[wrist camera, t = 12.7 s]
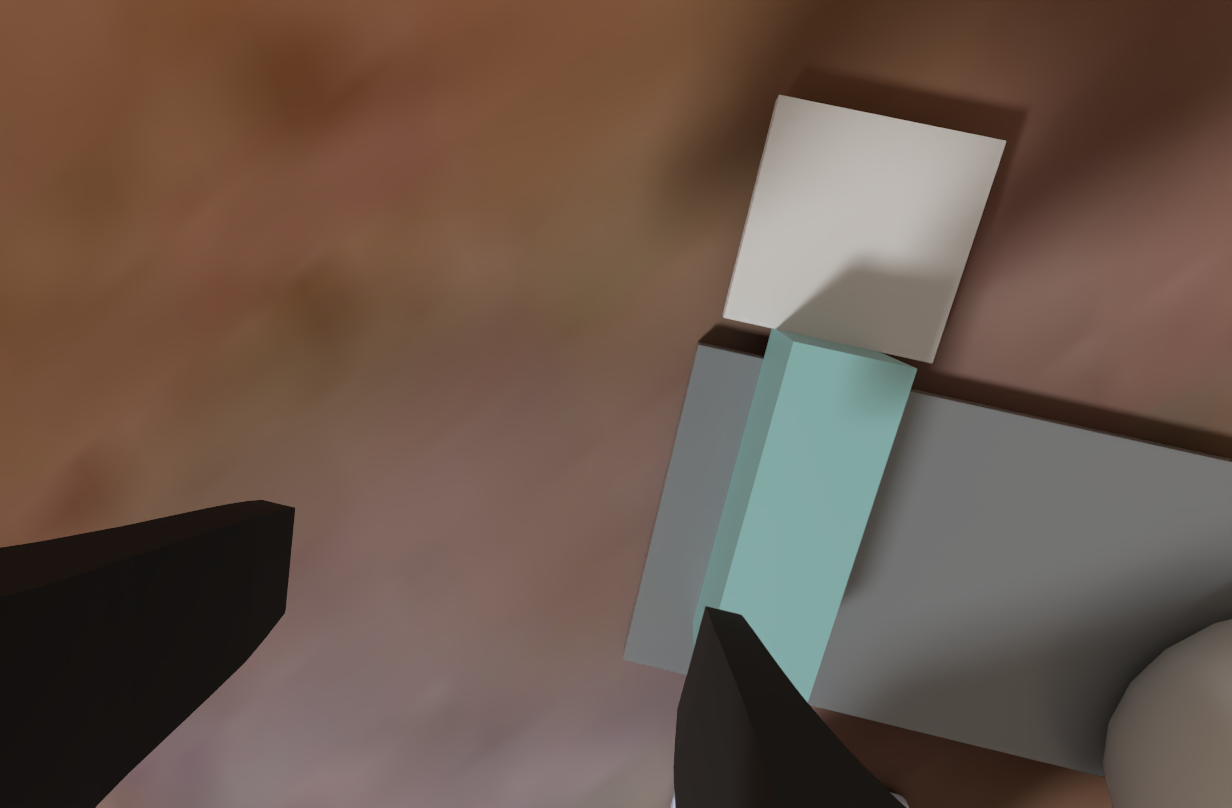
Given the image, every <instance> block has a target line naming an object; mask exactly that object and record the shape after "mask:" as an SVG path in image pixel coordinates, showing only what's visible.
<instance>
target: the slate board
mask: <svg viewBox="0 0 1232 808" xmlns="http://www.w3.org/2000/svg"><path fill="white" fill-rule="evenodd" d="M763 359H764V356H761V355H757V354H752V353H748V352H743V351H739V350H734V349H729V348H725V347H720V346H716V345H711V344H707V343H702V342H697V347H696V351H695V355H694V359H693V363H692V367H691V371H690V376H689V380H688V384H687V388H686V392H685V396H684V401H683V405H682V409H681V413H680V417H679V421H678V426H677V430H676V434H675V438H674V442H673V446H672V450H671V455H670V459H669V463H668V467H667V471H666V475H665V480H664V484H663V488H662V492H661V496H660V500H659V505H658V509H657V513H656V517H655V521H654V525H653V529H652V534H651V538H650V542H649V546H648V550H647V554H646V559H645V563H644V567H643V571H642V575H641V579H640V584H639V588H638V592H637V596H636V600H635V604H634V608H633V613H632V617H631V621H630V625H629V629H628V633H627V638H626V642H625V646H624V653H623V660H627V661H631V662H635V663H639V664H643V665H647V666H651V667H655V668H659V669H663V670H668V671H672V672H676V673H680V674H684V675H687V672H688V669H689V665H690V661H691V658H692V654H693V650H694V639H693V620H694V616H695V612H696V609H697V605H698V601H699V597H700V594H701V590H702V586H703V583H704V579H705V575H706V571H707V568H708V564H709V560H710V557H711V553H712V549H713V545H714V542H715V538H716V534H717V530H718V527H719V523H720V519H721V516H722V512H723V508H724V504H725V501H726V497H727V493H728V490H729V486H730V482H731V478H732V475H733V471H734V467H735V463H736V460H737V456H738V452H739V449H740V445H741V441H742V437H743V434H744V430H745V426H746V423H747V419H748V415H749V411H750V408H751V404H752V400H753V396H754V393H755V389H756V385H757V382H758V378H759V374H760V370H761V367H762V363H763ZM1230 619H1232V459H1229V458H1225V457H1220V456H1215V455H1211V454H1206V453H1202V452H1197V451H1193V450H1188V449H1184V448H1179V447H1175V446H1170V445H1166V444H1161V443H1156V442H1152V441H1147V440H1143V439H1138V438H1134V437H1129V436H1125V435H1120V434H1116V433H1111V432H1106V431H1102V430H1097V429H1093V428H1088V427H1084V426H1079V425H1075V424H1070V423H1066V422H1061V421H1056V420H1052V419H1047V418H1043V417H1038V416H1034V415H1029V414H1025V413H1020V412H1016V411H1011V410H1007V409H1002V408H997V407H993V406H988V405H984V404H979V403H975V402H970V401H966V400H961V399H957V398H952V397H947V396H943V395H938V394H934V393H929V392H925V391H920V390H916V389H911V390H910V393H909V396H908V399H907V402H906V405H905V408H904V411H903V414H902V417H901V420H900V423H899V426H898V429H897V433H896V436H895V439H894V442H893V445H892V448H891V451H890V454H889V457H888V460H887V463H886V466H885V469H884V472H883V475H882V478H881V481H880V484H879V487H878V490H877V493H876V496H875V500H874V503H873V506H872V509H871V512H870V515H869V518H868V521H867V524H866V527H865V530H864V533H863V536H862V539H861V542H860V545H859V548H858V551H857V554H856V557H855V560H854V563H853V567H852V570H851V573H850V576H849V579H848V582H847V585H846V588H845V591H844V594H843V597H842V600H841V603H840V606H839V609H838V612H837V615H836V618H835V621H834V624H833V627H832V630H831V634H830V637H829V640H828V643H827V646H826V649H825V652H824V655H823V658H822V661H821V664H820V667H819V670H818V673H817V676H816V679H815V682H814V685H813V688H812V691H811V694H810V697H809V700H808V704H809V705H811V706H815V707H819V708H823V709H827V710H831V711H835V712H839V713H844V714H848V715H852V716H856V717H860V718H864V719H868V720H872V721H876V722H880V723H884V724H889V725H893V726H897V727H901V728H905V729H909V730H913V731H917V732H921V733H925V734H930V735H934V736H938V737H942V738H946V739H950V740H954V741H958V742H962V743H966V744H970V745H975V746H979V747H983V748H987V749H991V750H995V751H999V752H1003V753H1007V754H1011V755H1015V756H1020V757H1024V758H1028V759H1032V760H1036V761H1040V762H1044V763H1048V764H1052V765H1056V766H1060V767H1065V768H1069V769H1073V770H1077V771H1081V772H1085V773H1089V774H1093V775H1097V776H1101V777H1105V776H1104V768H1103V758H1104V751H1105V744H1106V737H1107V730H1108V723H1109V721H1110V719H1111V717H1112V715H1113V714H1114V712H1115V710H1116V708H1117V706H1118V704H1119V703H1120V701H1121V699H1122V697H1123V695H1124V693H1125V692H1126V690H1127V688H1128V686H1129V684H1130V683H1131V682H1132V681H1133V680H1134V679H1135V678H1136V677H1137V676H1138V675H1139V674H1140V673H1141V672H1142V671H1143V670H1144V669H1145V668H1146V667H1147V666H1148V665H1149V664H1150V663H1152V662H1153V661H1154V660H1155V659H1156V658H1157V657H1158V656H1159V655H1160V654H1161V653H1162V652H1163V651H1164V650H1165V649H1167V648H1169V647H1171V646H1173V645H1175V644H1176V643H1178V642H1180V641H1182V640H1184V639H1186V638H1188V637H1190V636H1191V635H1193V634H1195V633H1197V632H1199V631H1201V630H1203V629H1205V628H1206V627H1208V626H1210V625H1212V624H1214V623H1218V622H1222V621H1226V620H1230Z"/></svg>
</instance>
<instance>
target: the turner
mask: <svg viewBox="0 0 1232 808" xmlns="http://www.w3.org/2000/svg"><path fill="white" fill-rule="evenodd" d="M1005 144H1006V141H1005V140H1000V139H995V138H990V137H985V136H980V135H975V134H971V133H966V132H961V131H956V130H951V129H946V128H941V127H936V126H931V125H926V124H921V123H916V122H911V121H906V120H901V119H897V118H892V117H887V116H882V115H877V114H872V113H867V112H862V111H857V110H852V109H847V108H842V107H837V106H832V105H828V104H823V103H818V102H813V101H808V100H803V99H798V98H793V97H788V96H783V95H779V96H778V98H777V99H776V102H775V106H774V110H773V114H772V118H771V122H770V126H769V130H768V134H767V138H766V142H765V146H764V150H763V154H762V158H761V162H760V166H759V170H758V174H757V178H756V182H755V186H754V190H753V194H752V198H751V202H750V206H749V210H748V214H747V218H746V222H745V226H744V230H743V234H742V238H741V242H740V246H739V250H738V254H737V258H736V262H735V266H734V270H733V274H732V279H731V283H730V287H729V291H728V295H727V299H726V303H725V307H724V311H723V315H722V316H723V318H727V319H732V320H736V321H741V322H745V323H750V324H754V325H759V326H764V327H768V328H772V329H771V333H770V337H769V341H768V344H767V348H766V352H765V356H764V359H763V363H762V367H761V370H760V374H759V378H758V382H757V385H756V389H755V393H754V396H753V400H752V404H751V408H750V411H749V415H748V419H747V423H746V426H745V430H744V434H743V437H742V441H741V445H740V449H739V452H738V456H737V460H736V463H735V467H734V471H733V475H732V478H731V482H730V486H729V490H728V493H727V497H726V501H725V504H724V508H723V512H722V516H721V519H720V523H719V527H718V530H717V534H716V538H715V542H714V545H713V549H712V553H711V557H710V560H709V564H708V568H707V571H706V575H705V579H704V583H703V586H702V590H701V594H700V597H699V601H698V605H697V609H696V612H695V616H694V620H693V639H694V647H695V643H696V639H697V635H698V632H699V628H700V624H701V621H702V617H703V613H704V610H705V606H708V607H712V608H716V609H720V610H724V611H728V612H733V613H737V614H741V615H742V616H743V617H744V618H745V620H746V621H747V622H748V624H749V625H750V626H751V628H752V629H753V630H754V632H755V633H756V635H757V636H758V637H759V639H760V640H761V642H762V643H763V644H764V646H765V647H766V649H767V650H768V651H769V653H770V654H771V655H772V657H773V658H774V660H775V661H776V662H777V664H778V665H779V666H780V668H781V669H782V670H783V672H784V673H785V674H786V676H787V677H788V678H789V680H790V681H791V682H792V684H793V685H794V686H795V688H796V689H797V690H798V691H799V693H800V694H801V695H802V696H803V698H804V699H805V700H806V701H807V703H808V700H809V697H810V694H811V691H812V688H813V685H814V682H815V679H816V676H817V673H818V670H819V667H820V664H821V661H822V658H823V655H824V652H825V649H826V646H827V643H828V640H829V637H830V634H831V630H832V627H833V624H834V621H835V618H836V615H837V612H838V609H839V606H840V603H841V600H842V597H843V594H844V591H845V588H846V585H847V582H848V579H849V576H850V573H851V570H852V567H853V563H854V560H855V557H856V554H857V551H858V548H859V545H860V542H861V539H862V536H863V533H864V530H865V527H866V524H867V521H868V518H869V515H870V512H871V509H872V506H873V503H874V500H875V496H876V493H877V490H878V487H879V484H880V481H881V478H882V475H883V472H884V469H885V466H886V463H887V460H888V457H889V454H890V451H891V448H892V445H893V442H894V439H895V436H896V433H897V429H898V426H899V423H900V420H901V417H902V414H903V411H904V408H905V405H906V402H907V399H908V396H909V393H910V390H911V387H912V384H913V381H914V378H915V375H916V372H917V368H915V367H912V366H910V365H908V364H906V363H903V362H901V361H899V360H897V359H894V358H892V357H890V356H888V355H885V354H883V353H887V354H891V355H896V356H900V357H905V358H909V359H914V360H918V361H923V362H928V363H933V360H934V357H935V354H936V351H937V348H938V345H939V342H940V339H941V336H942V333H943V330H944V327H945V324H946V321H947V318H948V315H949V312H950V309H951V306H952V303H953V300H954V297H955V294H956V291H957V288H958V285H959V282H960V279H961V276H962V273H963V270H964V267H965V264H966V261H967V258H968V255H969V252H970V249H971V246H972V243H973V240H974V237H975V234H976V231H977V228H978V225H979V222H980V219H981V216H982V213H983V210H984V207H985V204H986V201H987V198H988V195H989V192H990V189H991V186H992V183H993V180H994V177H995V174H996V171H997V168H998V165H999V162H1000V159H1001V156H1002V153H1003V150H1004V147H1005ZM881 352H882V353H881Z"/></svg>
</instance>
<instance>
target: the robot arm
mask: <svg viewBox="0 0 1232 808" xmlns="http://www.w3.org/2000/svg"><path fill="white" fill-rule="evenodd" d="M294 514H295V508H293V507H289V506H285V505H281V504H277V503H272V502H268V501H264V500H256V501H246V502H239V503H233V504H227V505H222V506H216V507H211V508H206V509H202V510H197V511H192V512H187V513H183V514H178V515H173V516H168V517H164V518H159V519H154V520H150V521H145V522H140V523H136V524H131V525H126V526H121V527H116V528H111V529H105V530H100V531H95V532H89V533H84V534H79V535H73V536H68V537H63V538H57V539H52V540H47V541H41V542H35V543H29V544H23V545H16V546H9V547H2V548H0V808H95V807H96V806H97V805H98V804H99V803H100V802H101V801H102V800H103V799H104V798H105V797H106V796H107V795H108V794H109V793H110V792H111V791H112V790H113V788H114V787H115V786H116V785H117V784H118V783H119V782H120V781H121V780H122V779H123V778H124V777H125V776H126V775H127V774H128V773H129V772H130V771H131V770H132V769H134V768H135V767H136V766H137V765H138V764H139V763H140V762H141V761H142V760H143V759H144V758H145V757H146V756H147V755H148V754H149V753H150V752H152V751H153V750H154V749H155V748H156V747H157V746H158V745H159V744H160V743H161V742H162V741H163V740H164V739H165V738H166V737H167V736H168V735H169V734H171V733H172V732H173V731H174V730H175V729H176V728H177V727H178V726H179V725H180V724H181V723H182V722H183V721H184V720H185V719H186V718H187V717H189V716H190V715H191V714H192V713H193V712H194V711H195V710H196V709H197V708H198V707H199V706H200V705H201V704H202V703H203V702H204V701H205V700H207V699H208V698H209V697H210V696H211V695H212V694H213V693H214V692H215V691H216V690H217V689H218V688H219V687H220V686H221V685H222V684H223V683H224V682H225V681H226V680H227V679H228V678H229V677H230V676H231V675H232V674H233V673H235V672H236V671H237V670H238V669H239V668H240V667H241V666H242V665H243V664H244V663H245V662H246V661H247V659H248V658H249V657H250V656H251V655H252V653H253V652H254V651H255V650H256V649H257V647H258V646H259V645H260V644H261V643H262V641H263V640H264V639H265V638H266V637H267V635H268V634H269V633H270V631H271V630H272V629H273V628H274V626H275V625H276V624H277V622H278V621H279V620H280V619H281V617H282V616H283V615H284V613H285V610H286V599H287V588H288V578H289V567H290V557H291V546H292V536H293V525H294ZM674 789H675V792H674V796H673V799H672V803H671V806H670V808H909V806H908V804H907V801H906V800H905V799H904V798H903V797H902V796H900V795H898V794H895V793H891V792H889V791H888V790H887V789H886V788H885V787H884V786H883V785H882V784H881V783H880V782H879V781H878V780H877V779H876V778H875V777H874V776H873V775H872V774H871V773H870V772H869V771H868V770H867V769H866V768H865V767H864V766H863V765H862V764H861V763H860V762H859V761H858V760H857V759H856V758H855V756H854V755H853V754H852V753H851V752H850V751H849V750H848V749H847V748H846V747H845V746H844V745H843V744H842V742H841V741H840V740H839V739H838V738H837V737H836V736H835V734H834V733H833V732H832V731H831V730H830V729H829V727H828V726H827V725H826V724H825V723H824V722H823V721H822V719H821V718H820V717H819V716H818V715H817V714H816V712H815V711H814V710H813V709H812V708H811V706H810V705H809V704H808V703H807V701H806V700H805V699H804V698H803V696H802V695H801V694H800V693H799V691H798V690H797V689H796V688H795V686H794V685H793V684H792V682H791V681H790V680H789V678H788V677H787V676H786V674H785V673H784V672H783V670H782V669H781V668H780V666H779V665H778V664H777V662H776V661H775V660H774V658H773V657H772V655H771V654H770V653H769V651H768V650H767V649H766V647H765V646H764V644H763V643H762V642H761V640H760V639H759V637H758V636H757V635H756V633H755V632H754V630H753V629H752V628H751V626H750V625H749V624H748V622H747V621H746V620H745V618H744V617H743V616H742V615H741V614H737V613H733V612H728V611H724V610H720V609H716V608H712V607H708V606H705V610H704V613H703V617H702V621H701V624H700V628H699V632H698V635H697V639H696V643H695V647H694V650H693V654H692V658H691V661H690V665H689V669H688V672H687V676H686V680H685V683H684V687H683V691H682V695H681V698H680V702H679V706H678V710H677V723H676V737H675V753H674Z"/></svg>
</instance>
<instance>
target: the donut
mask: <svg viewBox="0 0 1232 808" xmlns="http://www.w3.org/2000/svg"><path fill="white" fill-rule="evenodd" d="M1103 768H1104V776H1105V780H1106V783H1107V787H1108V791H1109V795H1110V798H1111V802H1112V806H1113V808H1232V619H1230V620H1226V621H1222V622H1218V623H1214V624H1212V625H1210V626H1208V627H1206V628H1205V629H1203V630H1201V631H1199V632H1197V633H1195V634H1193V635H1191V636H1190V637H1188V638H1186V639H1184V640H1182V641H1180V642H1178V643H1176V644H1175V645H1173V646H1171V647H1169V648H1167V649H1165V650H1164V651H1163V652H1162V653H1161V654H1160V655H1159V656H1158V657H1157V658H1156V659H1155V660H1154V661H1153V662H1152V663H1150V664H1149V665H1148V666H1147V667H1146V668H1145V669H1144V670H1143V671H1142V672H1141V673H1140V674H1139V675H1138V676H1137V677H1136V678H1135V679H1134V680H1133V681H1132V682H1131V683H1130V684H1129V686H1128V688H1127V690H1126V692H1125V693H1124V695H1123V697H1122V699H1121V701H1120V703H1119V704H1118V706H1117V708H1116V710H1115V712H1114V714H1113V715H1112V717H1111V719H1110V721H1109V723H1108V730H1107V737H1106V744H1105V751H1104V758H1103Z"/></svg>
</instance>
